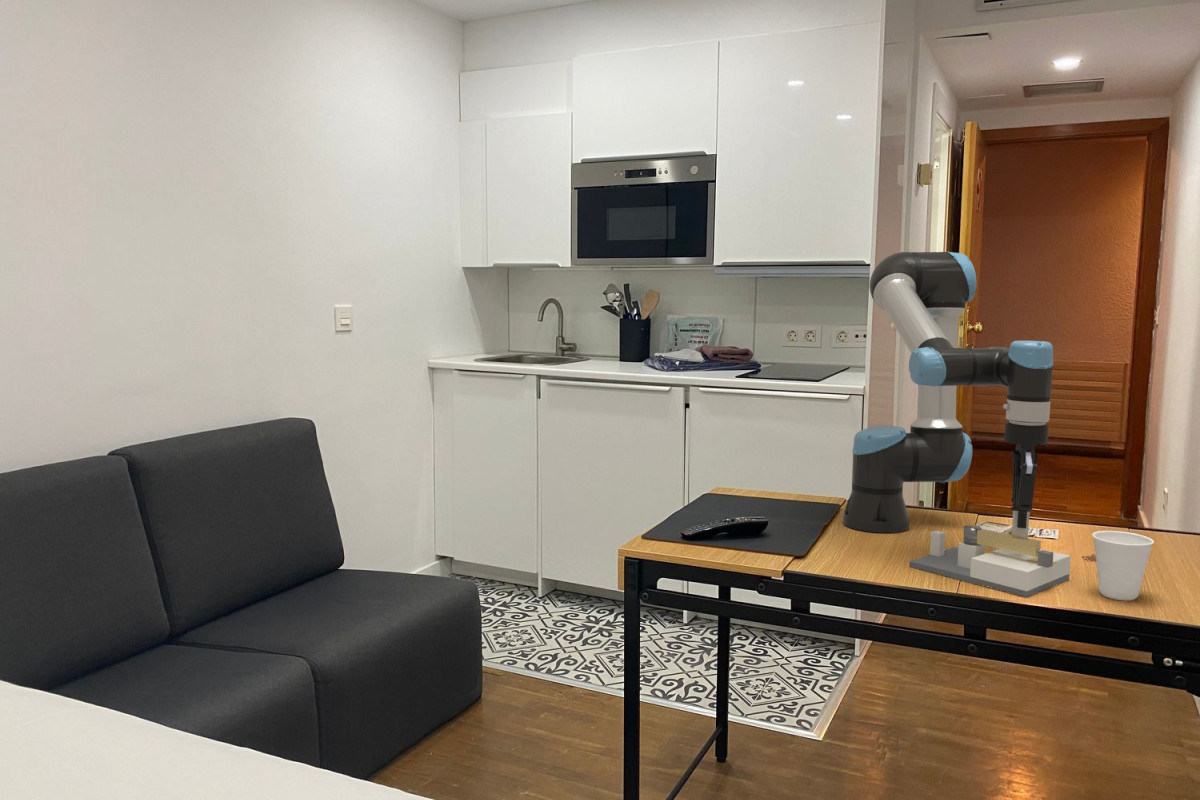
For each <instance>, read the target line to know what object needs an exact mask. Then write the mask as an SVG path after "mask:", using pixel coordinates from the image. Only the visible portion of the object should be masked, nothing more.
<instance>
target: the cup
mask: <svg viewBox="0 0 1200 800" xmlns="http://www.w3.org/2000/svg"><path fill="white" fill-rule="evenodd" d="M1091 536H1092V538H1093V545H1094V553H1095V554H1094V555H1096V562H1095V563H1096V571H1097V576H1098V577H1097V578H1098V589H1099V593H1100V594H1101V595H1102V596H1103V597H1105V598H1109V599H1110V600H1117V601H1124V602H1125V601H1129V602H1130V601H1134V600H1136V599H1137V598H1139V594H1140V590H1141V586H1142V583H1143V579H1144V575H1145V572H1146V571H1145V570H1146V568H1147V563H1148V561H1149V558H1150V555H1151V551H1152V546H1153V545H1154V543H1155V541H1154V540H1153V539H1152V538H1151V537H1148V536H1145V535H1142V534H1139V533H1135V532H1134V533H1133V532H1128V531H1122V530H1098V531H1095V532H1093V533H1092V534H1091Z"/></svg>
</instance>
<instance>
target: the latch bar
mask: <svg viewBox="0 0 1200 800" xmlns="http://www.w3.org/2000/svg"><path fill="white" fill-rule="evenodd" d="M962 540H963V541H962V542H965V543H968V544H980V545H984V546H985V547H990V548H994V549H1002V550H1007V551H1011V552H1016V553H1020V554H1025V555H1029V556H1034V557H1037V556H1038V552H1039V551H1040V549H1041V544H1042V541H1041V540H1038V539H1033V538H1029V537H1028V538H1024V537H1019V536H1015V535H1012V534H1009V533H1005V532H1000V531H999V532H998V531H994V530H989V529H985V528H982V527H981V526H979V525H970V524H969V525H963V538H962Z"/></svg>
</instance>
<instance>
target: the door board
mask: <svg viewBox="0 0 1200 800" xmlns="http://www.w3.org/2000/svg"><path fill="white" fill-rule="evenodd" d="M945 544H946V532H945V531H941V530H934V531H931V532H930V546H929V547H930V550H929V552H930V553H929V554H928V555H925V556H921V557H919V558H915V559H912V560H909V566H908V567H909V568H912V569H917V570H919V569H921V570H920V571H923V570H924V571H923V572H927V571H928V573H931V572H934V573H933V574H935V573H937V574H936V575H938V574H941V575H940V576H942V575H944V576H943V577H946V576H948V577H947V578H951V579H954V578H955V579H954V580H957V579H959V580H958V581H961V580H962V581H961V582H965V583H969V584H973V583H974V585H976V584H979V585H978V586H980V585H984V586H989V587H992V588H995V589H998V590H997V591H999V590H1002V591H1001V592H1003V591H1006V592H1005V593H1007V592H1009V593H1008V594H1011V593H1013V594H1012V595H1014V594H1017V595H1016V596H1018V595H1020V596H1019V597H1022V596H1024V597H1023V598H1026V597H1027V598H1029V597H1032V596H1034V595H1036V594H1038V592H1039V593H1041V592H1044V591H1045V589H1046V590H1048V589H1050V588H1049V587H1051V586H1053V587H1055V586H1057V585H1056V584H1058V585H1059V583H1060V584H1062V583H1065V582H1067V581H1069V580H1070V569H1071V555H1068V554H1065V553H1060V552H1055V551H1050V550H1047V549H1042V548H1040V551H1039V552H1038V556H1037V557H1034V556H1029V555H1025V554H1020V553H1016V552H1011V551H1007V550H1002V549H998V548H996V549H994V550H991V551H989V552H986V546H984V545H980V544H968V543H965V542H963V541H961V542H958V546H953V547H949V548H947V549H945V548H946V547H945V546H946V545H945ZM1061 582H1062V583H1061ZM1054 585H1055V586H1054ZM984 586H983V587H984ZM992 588H991V589H992ZM1047 588H1048V589H1047ZM1051 588H1052V587H1051ZM995 589H994V590H995ZM1033 594H1034V595H1033ZM1031 595H1032V596H1031Z"/></svg>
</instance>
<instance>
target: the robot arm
mask: <svg viewBox="0 0 1200 800" xmlns="http://www.w3.org/2000/svg"><path fill="white" fill-rule="evenodd" d="M976 290H977V275H976V270H975V266H974V265H973V262H972V261H971V259H970V258H969V256H967V255H965V254H964V253H961V252H951V251H916V252H915V251H901V252H896V253H893V254H891V255H890V254H889V255H888V256H887V257H885V258H884V259H883V260H881V261H880V262H879V263H878V264H877V265H876V267H875V268H874V270H873V271H872V272H871V276H870V280H869V292H870V295H871V299H872V300H873V302H874V304H875V305H876V307H878V308H879V309H881V310H882V311H885V312H886V314H887V316H888V317H889V320H890V321H891V322H892V324H893V326H894V327H895V329H896V331H897V332H898V334H899V336H900V337H901V339H902V340H903V343H904V344H905V345H906V347H907V349H908V350H909V352H910V357H909V360H908V372H909V377H910V379H911V380H912V382H913V383H914V384H915V385H917V411H916V412H917V414H916V415H917V416H916V419H915V420H914V421H913V422H912V423H911V424H910V431H909V432H907V431H906V429H905V428H904V427H902V426H894V425H892V426H875V427H869V428H864V429H861V430H859V431H858V432H857V433H856V434H855V435H854V439H853V446H852V449H851V450H852V451H851V452H852V472H851V473H852V476H851V493H850V495H849V498H848V500H847V503H846V506H845V508H844V511H843V515H842V524H843V525H844V526H846V527H848V528H850V529H852V530H853V529H854V530H858V531H863V532H867V533H868V532H870V533H879V534H880V533H881V534H883V533H884V534H885V533H886V534H888V533H889V534H891V533H900V532H904V531H907V530H908V529H909V527H910V517H909V514H908V509H907V507H906V503H905V499H904V495H903V493H904V492H903V491H904V489H903V488H904V483H924V482H925V483H933V482H934V483H940V484H944V483H948V482H957V481H959V480H961V479H963V477H965V475H966V474H967V473H968V471H969V469H970V467H971V463H972V458H973V444H971V443H972V440H971V438H970V436H969V435H968V434H967V433H965V432H963V425H962V424H961V423H960V422H959V420H958V419H957V386H961V387H962V386H970V387H972V386H974V387H975V386H976V387H977V386H978V387H985V386H987V387H990V386H991V387H993V386H995V387H996V386H998V387H1006V388H1007V389H1006V402H1007V403H1003V405H1002V408H1003V409H1004V410H1006V411H1005V418H1006V420H1007V421H1006V422H1005V424H1004V436H1003V437H1004V438H1003V439H1004V441H1005V442H1006V443H1010V444H1014V445H1016V446H1015V450H1012V453H1011V458H1012V489H1011V490H1012V491H1011V503H1012V506H1010V510H1011V511H1012V519H1011V520H1012V521H1011V522H1012V523H1011V524H1012V525H1011V535H1015V536H1019V537H1024V538H1029V527H1030V526H1029V525H1030V513H1031V511H1033V501H1034V492H1035V484H1036V483H1035V482H1036V474H1037V472H1038V471H1037V470H1038V467H1039V466H1038V464H1037V463H1038V459H1039V458H1038V457H1039V456H1038V454H1037V453H1036V451H1035V447H1036V446H1043V445H1044V446H1045V445H1046V444H1047V443H1048V439H1049V426H1048V424H1046V423H1047V422H1050V416H1051V393H1052V381H1053V371H1054V370H1053V368H1054V362H1055V361H1054V357H1053V356H1054V346H1053V344H1052V343H1051V342H1049V341H1045V340H1043V341H1040V340H1014V341H1012V342H1011V343H1010V346H1009V348H1008V347H1006V346H991V347H958V346H959V345H958V339H959V338H958V337H959V317H960V316H961V315H962V314H963V313H964V312H965V310H966V304H967V303H970V302H972V300H973V299H974V297H975V295H976V293H975V292H976Z"/></svg>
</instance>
